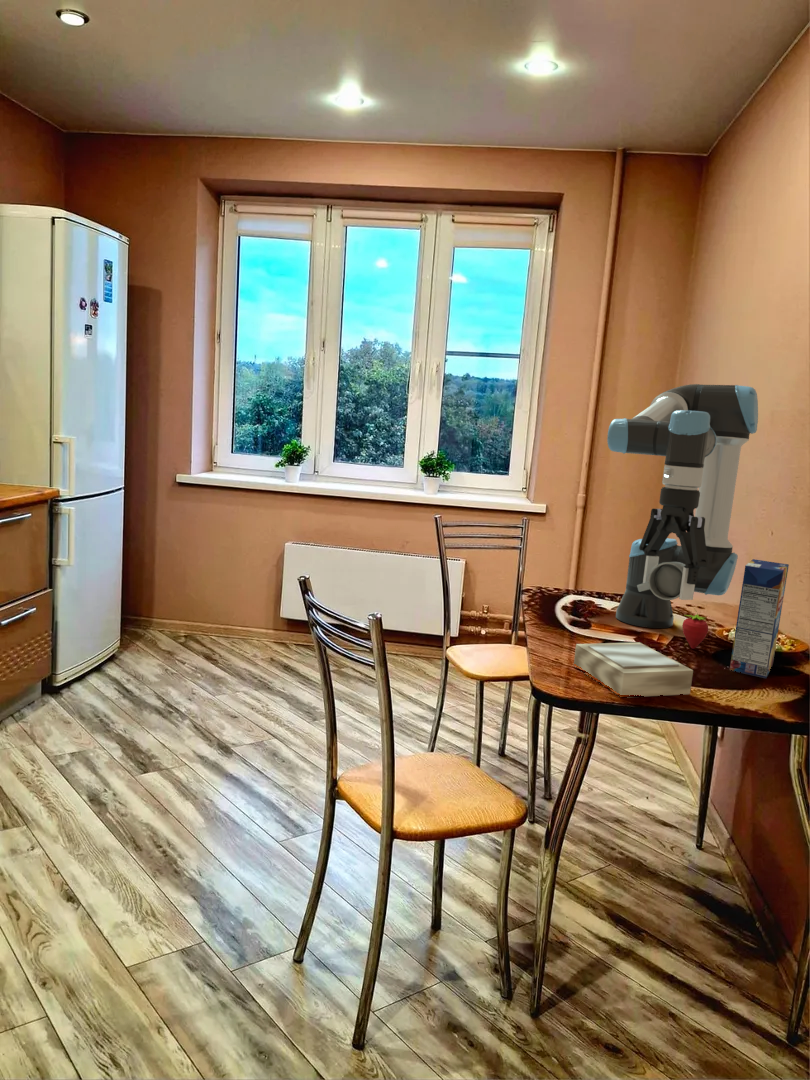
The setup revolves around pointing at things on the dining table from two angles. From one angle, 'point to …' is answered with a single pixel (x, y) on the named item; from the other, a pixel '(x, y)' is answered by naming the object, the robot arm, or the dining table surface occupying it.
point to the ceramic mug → (664, 580)
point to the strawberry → (694, 630)
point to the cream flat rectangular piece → (634, 669)
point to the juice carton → (758, 617)
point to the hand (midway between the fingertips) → (666, 592)
